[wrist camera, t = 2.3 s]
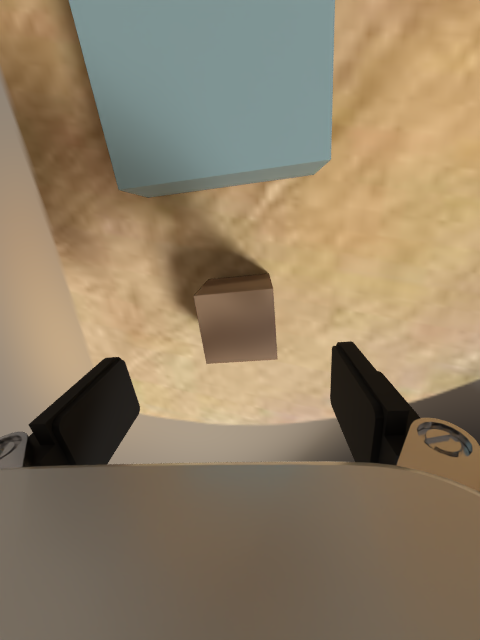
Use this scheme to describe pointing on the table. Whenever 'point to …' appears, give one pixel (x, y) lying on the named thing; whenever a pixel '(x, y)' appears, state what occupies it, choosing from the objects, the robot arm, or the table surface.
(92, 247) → the table surface
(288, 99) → the plinth block
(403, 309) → the table surface
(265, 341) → the walnut cube
